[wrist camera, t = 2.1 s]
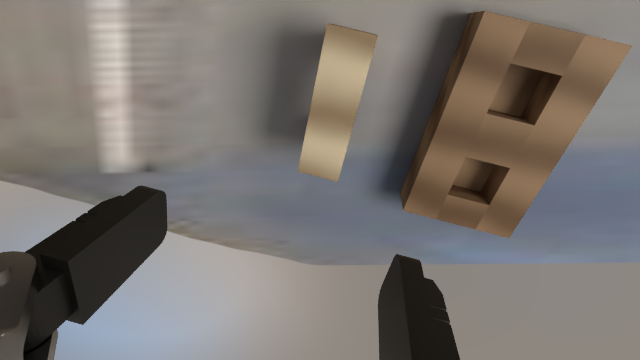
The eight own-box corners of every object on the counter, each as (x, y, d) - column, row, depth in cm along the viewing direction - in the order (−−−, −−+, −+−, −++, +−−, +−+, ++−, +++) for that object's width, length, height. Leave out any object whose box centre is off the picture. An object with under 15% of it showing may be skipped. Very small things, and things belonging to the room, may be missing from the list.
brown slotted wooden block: (470, 12, 29) (484, 11, 25) (599, 43, 28) (632, 45, 25) (400, 193, 38) (403, 210, 34) (496, 218, 37) (509, 238, 34)
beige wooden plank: (337, 24, 31) (327, 23, 24) (376, 33, 30) (377, 35, 23) (311, 143, 37) (297, 171, 30) (344, 151, 36) (337, 181, 29)
